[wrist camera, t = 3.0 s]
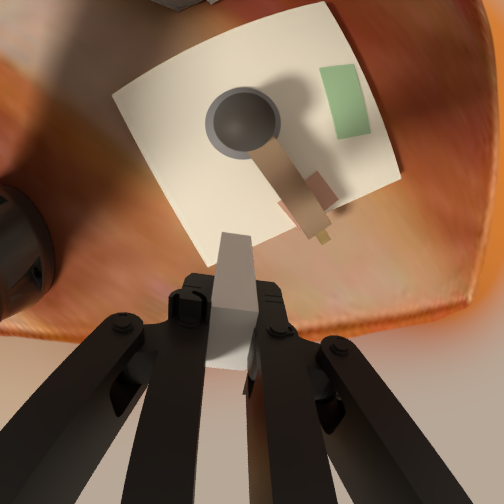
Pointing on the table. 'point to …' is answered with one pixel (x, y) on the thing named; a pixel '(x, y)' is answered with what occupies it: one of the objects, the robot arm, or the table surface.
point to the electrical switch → (180, 3)
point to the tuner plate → (286, 130)
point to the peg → (269, 157)
